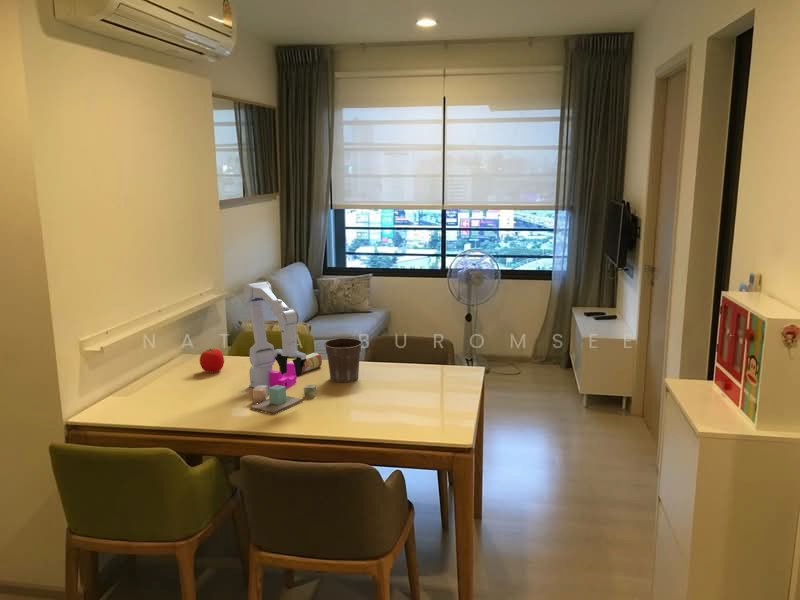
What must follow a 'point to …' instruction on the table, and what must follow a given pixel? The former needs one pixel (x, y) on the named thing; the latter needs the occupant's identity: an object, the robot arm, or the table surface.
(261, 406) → the board
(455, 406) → the table surface
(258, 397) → the peach rounded piece
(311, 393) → the olive block
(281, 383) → the toy block
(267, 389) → the grey cube
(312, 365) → the snack package
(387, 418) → the table surface
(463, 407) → the table surface
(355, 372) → the plant pot
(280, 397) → the teal block
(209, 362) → the tomato
